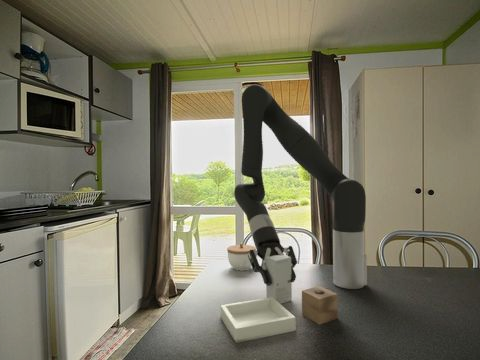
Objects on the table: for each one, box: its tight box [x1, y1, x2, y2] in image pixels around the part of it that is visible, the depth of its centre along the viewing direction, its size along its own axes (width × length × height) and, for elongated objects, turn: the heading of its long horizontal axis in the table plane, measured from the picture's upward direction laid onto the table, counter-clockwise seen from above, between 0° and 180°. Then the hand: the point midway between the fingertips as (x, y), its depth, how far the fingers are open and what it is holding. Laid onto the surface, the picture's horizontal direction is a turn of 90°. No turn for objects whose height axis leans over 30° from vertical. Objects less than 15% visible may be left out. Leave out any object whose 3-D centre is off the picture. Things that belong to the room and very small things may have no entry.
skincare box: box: [265, 254, 293, 305], centre depth 82 cm, size 6×4×12 cm
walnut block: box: [301, 285, 339, 325], centre depth 72 cm, size 6×6×6 cm
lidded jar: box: [226, 242, 257, 272], centre depth 111 cm, size 11×11×9 cm
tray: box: [219, 297, 297, 344], centre depth 69 cm, size 14×12×3 cm
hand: (281, 282), depth 81 cm, fingers closed on skincare box, 6 cm apart
